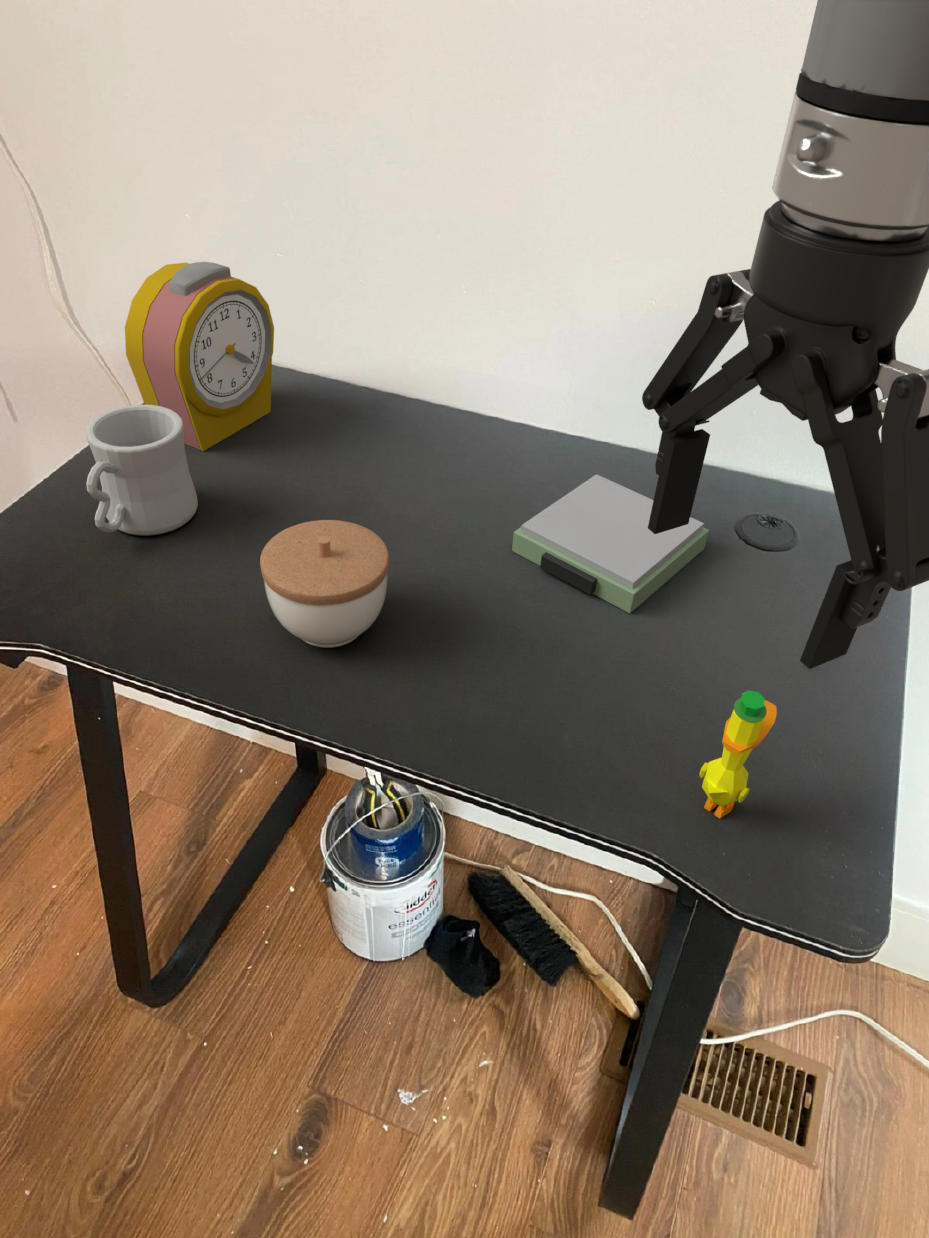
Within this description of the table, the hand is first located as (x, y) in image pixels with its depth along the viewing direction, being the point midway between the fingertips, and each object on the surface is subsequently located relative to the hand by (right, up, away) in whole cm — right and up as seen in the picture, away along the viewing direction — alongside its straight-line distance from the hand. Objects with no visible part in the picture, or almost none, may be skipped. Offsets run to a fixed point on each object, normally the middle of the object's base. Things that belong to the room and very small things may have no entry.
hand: (738, 587), depth 54 cm
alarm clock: (-46, +21, +54) cm, 74 cm away
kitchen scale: (-2, +5, +38) cm, 38 cm away
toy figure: (+3, -16, +15) cm, 22 cm away
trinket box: (-28, -3, +28) cm, 40 cm away
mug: (-49, +8, +38) cm, 62 cm away
